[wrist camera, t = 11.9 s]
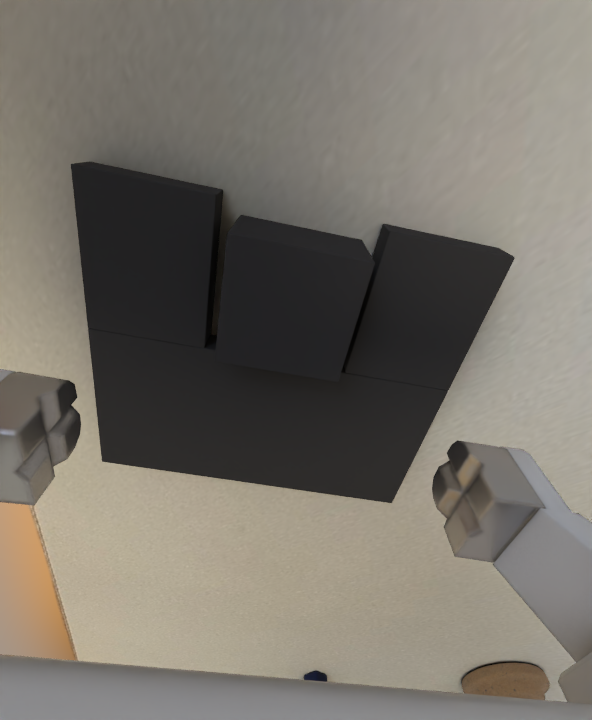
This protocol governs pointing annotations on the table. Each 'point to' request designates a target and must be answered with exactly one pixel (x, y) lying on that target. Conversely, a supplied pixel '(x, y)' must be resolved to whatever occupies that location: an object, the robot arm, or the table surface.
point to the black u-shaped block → (257, 386)
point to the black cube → (290, 298)
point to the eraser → (316, 676)
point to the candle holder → (507, 681)
